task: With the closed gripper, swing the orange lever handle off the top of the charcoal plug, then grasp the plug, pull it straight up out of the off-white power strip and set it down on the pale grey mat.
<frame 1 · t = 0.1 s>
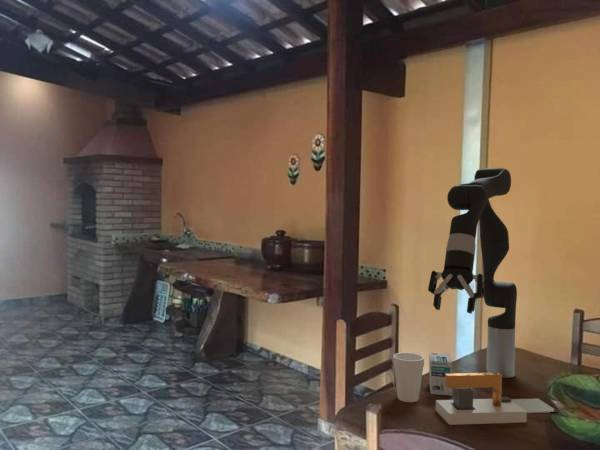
hand: (452, 311, 131), 31 cm above the table, tool tilted 20°, fingers open, 8 cm apart
light bulb box: (440, 390, 162), on the table
plug: (462, 416, 140), resting in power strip
foam cup: (408, 399, 153), on the table
orange lever handle: (473, 389, 140), point 8 cm above the table, hinge at 0.0°
mat: (531, 406, 148), on the table
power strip: (479, 416, 140), on the table
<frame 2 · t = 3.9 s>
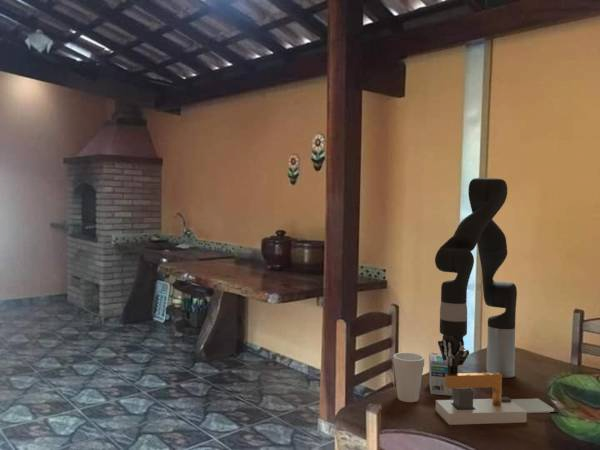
hand: (452, 377, 142), 10 cm above the table, tool pointing down, fingers closed
orange lever handle: (473, 389, 140), point 8 cm above the table, hinge at 0.0°, touching gripper
everything else where it was.
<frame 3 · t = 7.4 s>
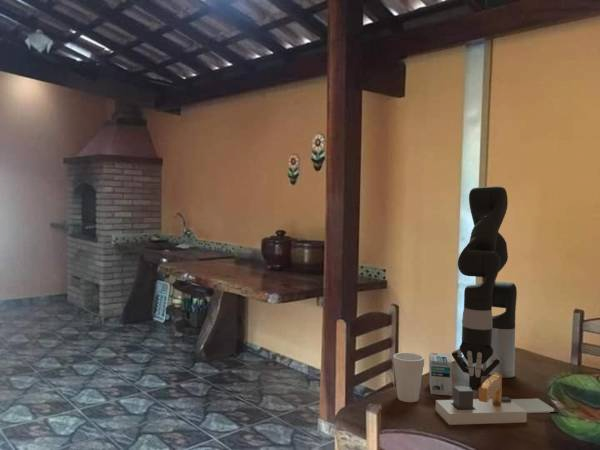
hand: (474, 389, 132), 10 cm above the table, tool pointing down, fingers closed
orange lever handle: (490, 396, 135), point 8 cm above the table, hinge at 49.2°, touching gripper
everything else where it was.
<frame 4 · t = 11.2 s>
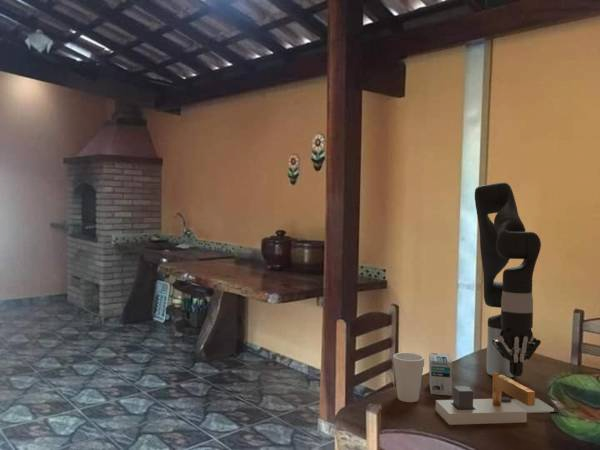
hand: (515, 375, 128), 15 cm above the table, tool pointing down, fingers closed
orange lever handle: (511, 397, 134), point 8 cm above the table, hinge at 95.1°
everything else where it was.
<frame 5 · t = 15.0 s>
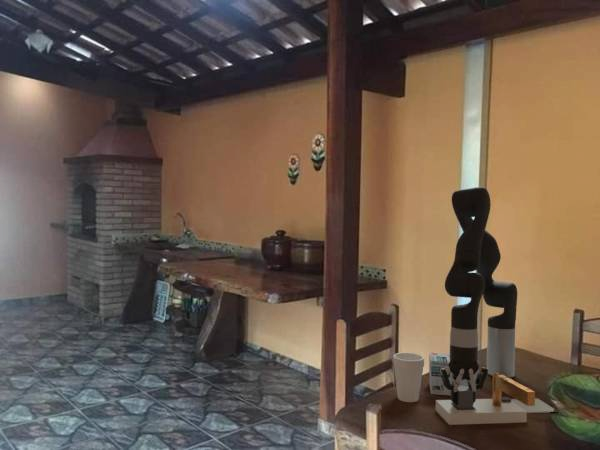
hand: (462, 403, 139), 4 cm above the table, tool pointing down, fingers closed on plug, 4 cm apart
plug: (462, 416, 140), resting in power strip, touching gripper
everything else where it was.
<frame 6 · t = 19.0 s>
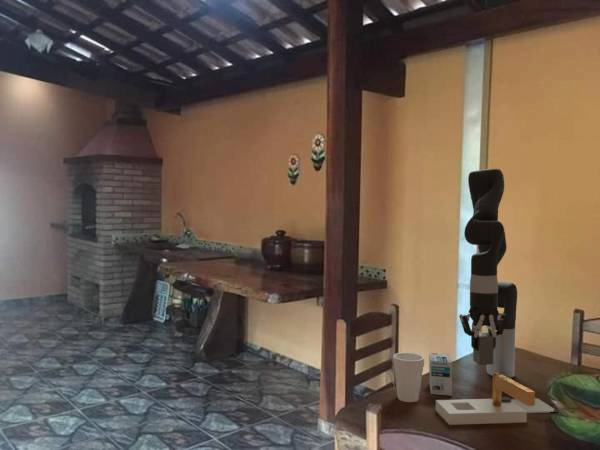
hand: (483, 349, 142), 18 cm above the table, tool pointing down, fingers closed on plug, 4 cm apart
plug: (483, 362, 142), point 15 cm above the table, touching gripper
everything else where it was.
when the fingers open (6 cm above the table, at t = 22.9 s): plug drops 1 cm, resting on mat.
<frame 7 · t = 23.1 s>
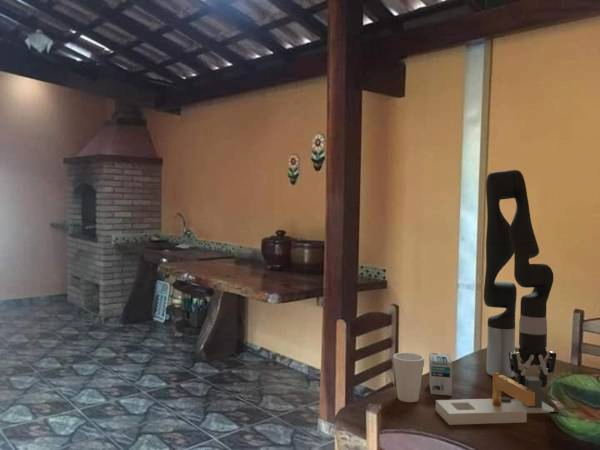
hand: (531, 386, 148), 6 cm above the table, tool pointing down, fingers open, 6 cm apart
plug: (531, 405, 148), resting on mat
everything else where it was.
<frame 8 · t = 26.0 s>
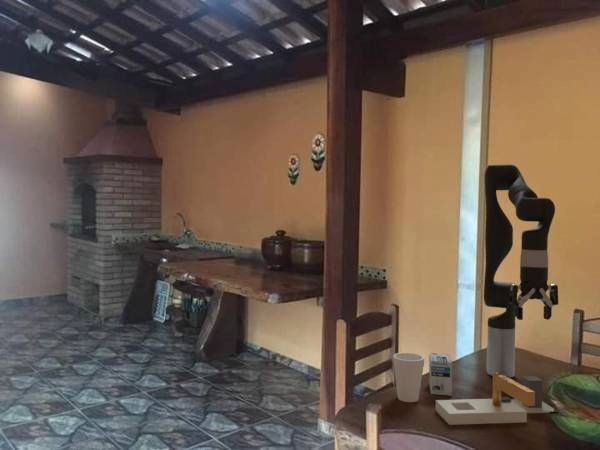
hand: (533, 319, 148), 26 cm above the table, tool pointing down, fingers open, 8 cm apart
nothing on the table moved.
at the end: orange lever handle at +95° (first picture: +0°); plug inside the target area on the mat (0.0 cm from its centre), point 0.4 cm above the mat's base; plug tilted 0° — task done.
